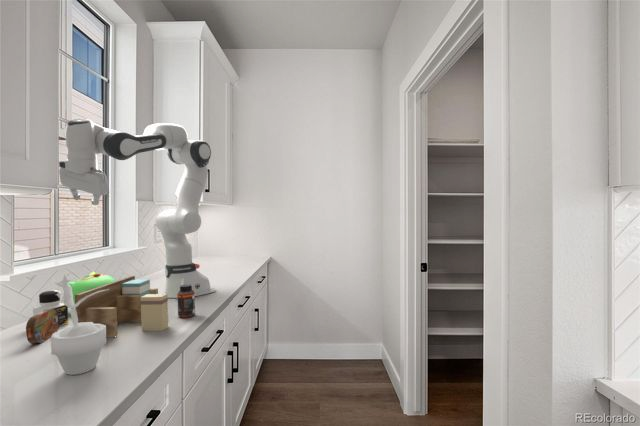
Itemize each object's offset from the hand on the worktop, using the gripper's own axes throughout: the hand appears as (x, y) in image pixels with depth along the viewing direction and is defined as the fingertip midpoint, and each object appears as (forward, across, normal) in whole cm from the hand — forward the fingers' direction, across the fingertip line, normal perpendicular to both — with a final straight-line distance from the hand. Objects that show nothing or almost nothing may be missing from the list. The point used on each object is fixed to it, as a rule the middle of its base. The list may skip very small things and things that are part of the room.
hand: (85, 201), depth 136 cm
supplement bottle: (+34, -45, -1) cm, 57 cm away
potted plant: (+23, -50, +42) cm, 69 cm away
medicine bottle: (+39, -7, +22) cm, 45 cm away
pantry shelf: (+35, -30, +13) cm, 48 cm away
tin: (+34, -17, +31) cm, 49 cm away
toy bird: (+44, -3, +3) cm, 44 cm away
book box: (+31, -44, +13) cm, 56 cm away
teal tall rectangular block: (+37, -28, +5) cm, 47 cm away
